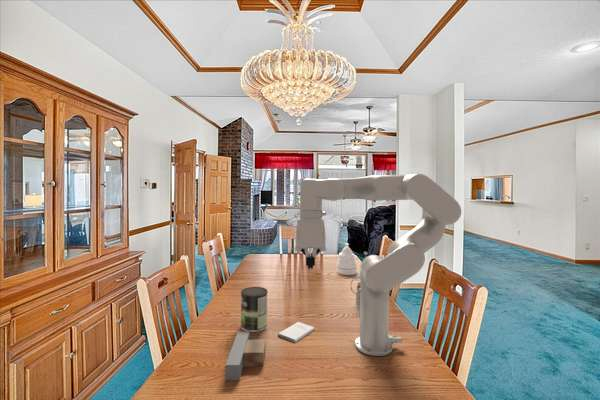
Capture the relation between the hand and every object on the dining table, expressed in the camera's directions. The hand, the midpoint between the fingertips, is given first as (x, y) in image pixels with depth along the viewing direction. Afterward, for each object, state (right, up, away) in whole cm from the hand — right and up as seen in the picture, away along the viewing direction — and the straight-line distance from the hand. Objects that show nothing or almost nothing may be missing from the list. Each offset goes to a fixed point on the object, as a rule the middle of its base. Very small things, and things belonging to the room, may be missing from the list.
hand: (310, 267), depth 107 cm
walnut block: (-18, -28, -8) cm, 34 cm away
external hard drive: (-5, -27, +10) cm, 30 cm away
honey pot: (+26, -23, +93) cm, 99 cm away
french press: (+26, -26, +38) cm, 53 cm away
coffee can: (-22, -27, +15) cm, 37 cm away
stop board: (-23, -27, -9) cm, 37 cm away
